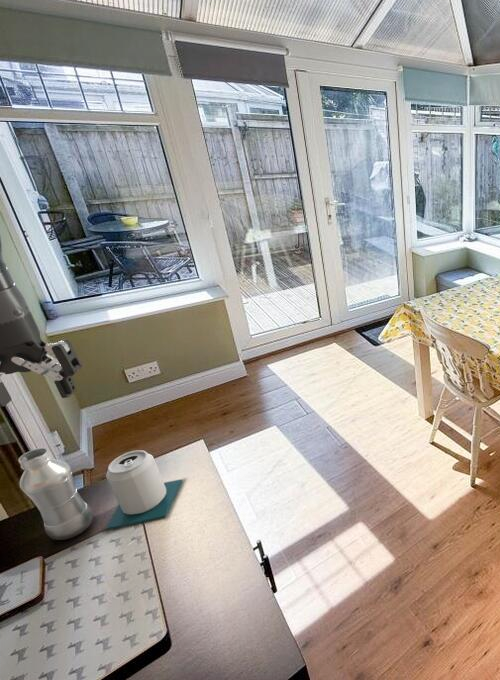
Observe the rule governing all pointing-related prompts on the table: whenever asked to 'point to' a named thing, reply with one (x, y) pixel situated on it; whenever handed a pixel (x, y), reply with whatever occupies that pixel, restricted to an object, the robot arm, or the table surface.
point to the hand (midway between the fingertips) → (37, 399)
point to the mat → (155, 513)
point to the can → (136, 482)
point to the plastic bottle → (54, 494)
